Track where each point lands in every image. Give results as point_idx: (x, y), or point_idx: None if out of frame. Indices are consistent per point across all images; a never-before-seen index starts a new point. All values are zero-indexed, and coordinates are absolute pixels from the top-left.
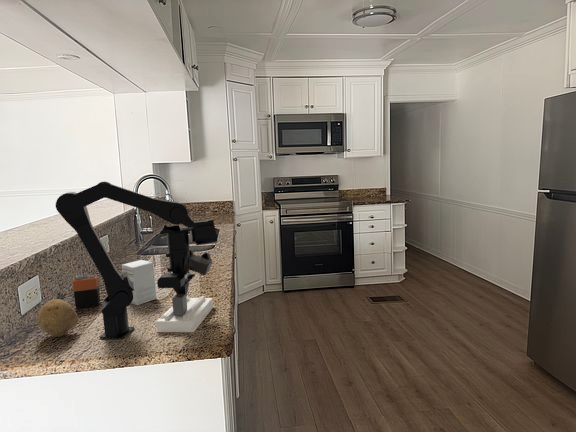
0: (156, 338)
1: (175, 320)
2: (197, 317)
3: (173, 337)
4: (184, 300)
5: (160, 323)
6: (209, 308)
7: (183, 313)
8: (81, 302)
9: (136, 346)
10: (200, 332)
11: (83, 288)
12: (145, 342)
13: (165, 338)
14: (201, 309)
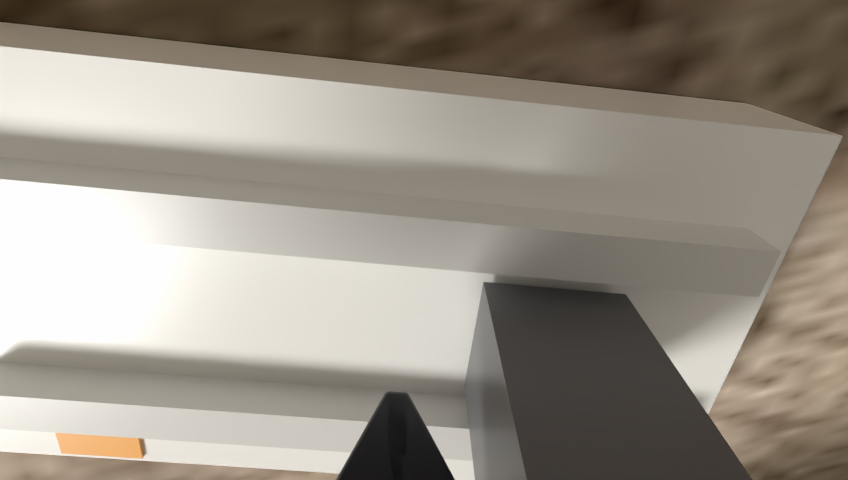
0: (753, 385)
1: (718, 344)
2: (635, 109)
3: (794, 267)
4: (620, 428)
5: None
6: (104, 40)
7: (634, 310)
8: None
9: (840, 462)
10: (784, 18)
11: None
12: (796, 432)
13: (785, 324)
14: (391, 107)
